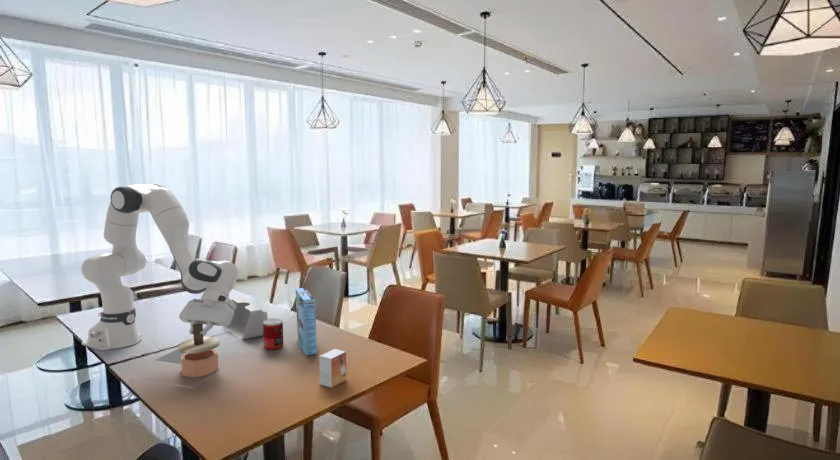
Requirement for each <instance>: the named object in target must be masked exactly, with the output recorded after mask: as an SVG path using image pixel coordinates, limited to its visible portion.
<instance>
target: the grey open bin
mask: <svg viewBox="0 0 840 460" xmlns="http://www.w3.org/2000/svg"><path fill="white" fill-rule="evenodd" d="M231 300H232V301H233V302H234V303H235V305H236V306H237V307H236V309H235V310H234V315H233V318H232V320H231V323H230V324H229V325H228V326H226V327H225V326H222V327H223V328H224V329H226V330H227V331H228V332H230V333H231V334H232V335H233V336H234V337H236V338H237V339H241V341H244V340H250V339H255V338H259V337H262V336H263V322H264V321H265V320H268V318H269V317H268V311H267V310H263V309H262V308H260V307H258V306H257V305H256V304H254V303H252V302H250V301H249V300H246V299H245V298H243V297H239V298H233V299H231Z"/></svg>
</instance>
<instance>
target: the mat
mask: <svg viewBox="0 0 840 460" xmlns="http://www.w3.org/2000/svg"><path fill="white" fill-rule="evenodd" d="M183 354H185V353H181V352H179V351H178V348H176V349H175V350H173V351H170V352H168V353H166V354H165V355H162V356H160V357H158V358H156V359H155V361H159V362H167V363H173V364H180V365H181V355H183Z"/></svg>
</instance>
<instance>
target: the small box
mask: <svg viewBox="0 0 840 460" xmlns="http://www.w3.org/2000/svg"><path fill="white" fill-rule="evenodd" d="M318 358H319V361H318V363H319V385H321V386H324V387H327V388H332V389H333V388H334V387H335V386H337V385H340V384H341V383H343V382H345V381H346V380H347V352H346V351H344V350H340V349H338V348H333V349H332V350H329V351H328V352H325V353H322V354H320V355H319V357H318Z"/></svg>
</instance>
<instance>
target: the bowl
mask: <svg viewBox="0 0 840 460" xmlns="http://www.w3.org/2000/svg"><path fill="white" fill-rule="evenodd" d="M180 368H181V369H180V370H181V375H182V377H189V378H197V377H199V378H200V377H203V376H210V375H211V374H213V373H214V372H215V371H217V370H219V354H218V351H217V349H216V348H214V349H212V350H209V351H206V352H201V353H192V354H188V353H185V354H183V355H181V364H180Z"/></svg>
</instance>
